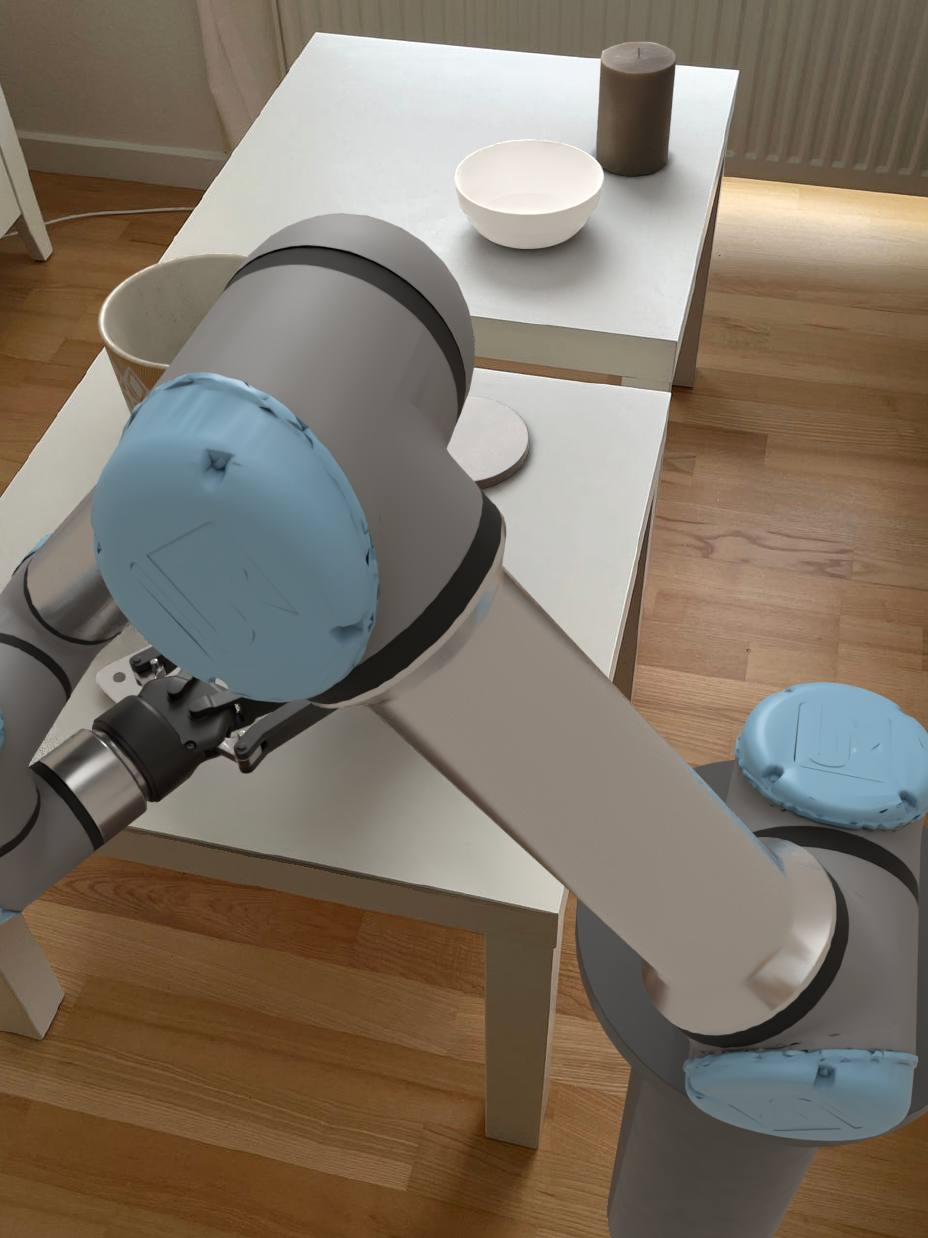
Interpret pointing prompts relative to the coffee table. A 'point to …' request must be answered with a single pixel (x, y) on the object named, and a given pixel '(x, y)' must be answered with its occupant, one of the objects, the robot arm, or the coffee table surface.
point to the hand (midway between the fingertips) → (351, 591)
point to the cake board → (489, 441)
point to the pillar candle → (635, 107)
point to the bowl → (528, 191)
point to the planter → (160, 316)
